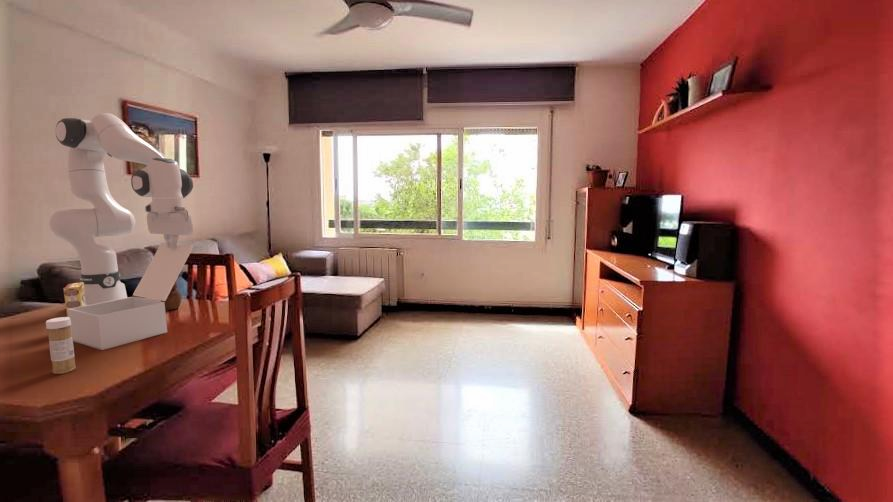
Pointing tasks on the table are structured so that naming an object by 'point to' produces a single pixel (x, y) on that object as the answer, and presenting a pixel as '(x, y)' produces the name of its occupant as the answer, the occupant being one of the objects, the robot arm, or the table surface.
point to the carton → (117, 322)
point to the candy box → (74, 296)
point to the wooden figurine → (173, 299)
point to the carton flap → (163, 271)
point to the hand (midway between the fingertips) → (172, 247)
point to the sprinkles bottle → (61, 345)
